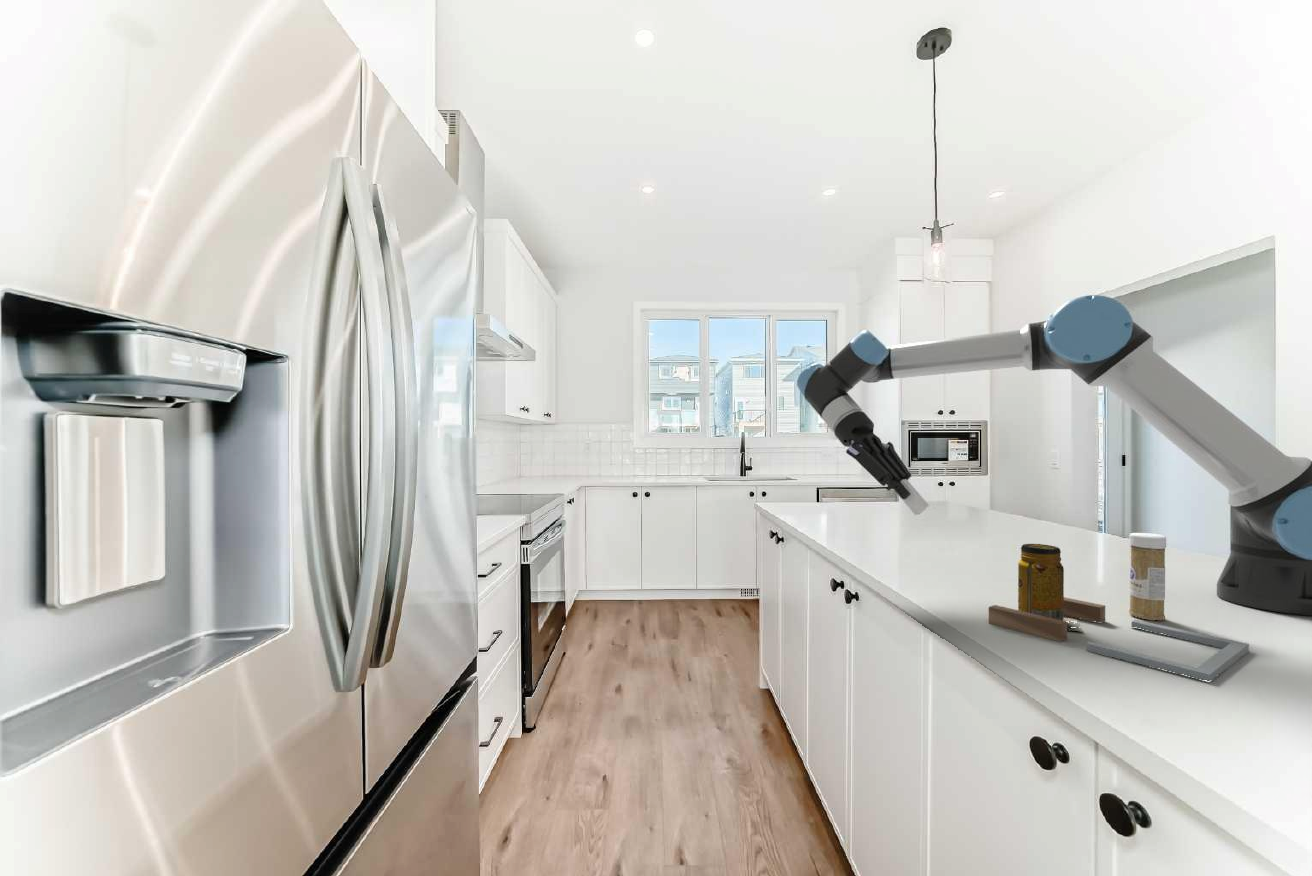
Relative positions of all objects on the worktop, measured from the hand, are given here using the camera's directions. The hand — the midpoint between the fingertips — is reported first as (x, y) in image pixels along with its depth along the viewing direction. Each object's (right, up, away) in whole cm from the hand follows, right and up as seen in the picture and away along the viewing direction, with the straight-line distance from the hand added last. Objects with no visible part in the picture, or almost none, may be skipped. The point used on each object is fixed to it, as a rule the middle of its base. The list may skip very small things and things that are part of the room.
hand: (922, 510), depth 109 cm
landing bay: (+20, -16, -29) cm, 38 cm away
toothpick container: (+30, -16, -15) cm, 37 cm away
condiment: (+12, -16, -17) cm, 26 cm away
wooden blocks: (+12, -16, -17) cm, 26 cm away
